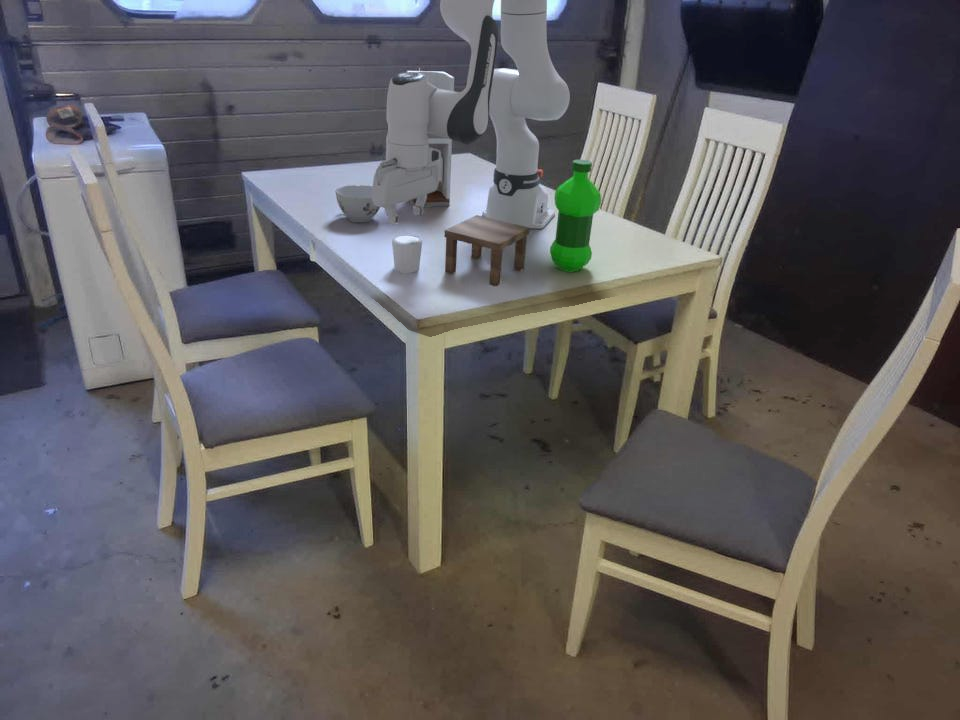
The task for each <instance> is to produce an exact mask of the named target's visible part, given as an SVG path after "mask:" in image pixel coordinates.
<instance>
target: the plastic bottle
mask: <svg viewBox="0 0 960 720" xmlns="http://www.w3.org/2000/svg"><path fill="white" fill-rule="evenodd" d="M592 166H593V163H592V161H590V160H585V159H574V160H572V164H571V170H572V171H573V176H572V177H570V178H568V179H567V180H566V181H564V182H563V183H562V184H560V185H559V186H557V188H556V190H555V192H554V205H555V207H556V209H557V210H558V213H557V221H556V222H557V223H556V230H555V231H556V232H555V239H554V241H553V242H552V244H551V245H550V248H549V253H550V257H551V261H552V262H553V263H554V265H555V266H556V267H557V268H558V269H559V270H561V271H563V272H569V273H572V272H573V271H576V272H578V271H580V270H581V269H582V268H583V267H586V266H587V264H588V263H590V261H591V259H592V257H593V256H592V254H593V252H592V248H591V246H590V241H591V239H590V238H591V234H592V233H591V232H592V225H593V218H594V214H596V213H597V212H598V211H600V210H599V209H600V208H601V207H600V206H601V205H602V204H601V202H602V195H601V192H600V191H599V189H598V188H597V186H596V185H595V184H594V182H592V181H591V180H590V179H589V178H588V177H589V173H590V172H592ZM579 269H580V270H579ZM573 273H574V272H573Z"/></svg>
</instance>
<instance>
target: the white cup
mask: <svg viewBox="0 0 960 720" xmlns="http://www.w3.org/2000/svg"><path fill="white" fill-rule="evenodd" d="M422 246H423V239H422V237H420V236H418V235H414V234H406V233H405V234H399V235H395V236H393V237H392V238H391V247H392V255H393V266H394V267H393V268H394V269H395V271H397V272H399V273H405V274H409V273H415V272H418V271H419V269H420V264H421V263H420V262H421V257H422V255H421V254H422Z"/></svg>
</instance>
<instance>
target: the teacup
mask: <svg viewBox="0 0 960 720" xmlns="http://www.w3.org/2000/svg"><path fill="white" fill-rule="evenodd" d="M372 189H373V185H364V184H360V185H355V184H351V185H350V184H348V185H343V186H341V187H338V188H336V189H335V197H336V201H337V202H336V203H337V204H338V207H339V208H340V210H341V212H342V213H343V215H345V217H346V218H348V220H349V221H350V222H353V223H367V222H371V221H372V218H374V217H375V216H376V215H377V213H378V212H379V210H380V208H381V207H378V206H375V205H374V203H373V202H372Z"/></svg>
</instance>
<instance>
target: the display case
mask: <svg viewBox="0 0 960 720" xmlns="http://www.w3.org/2000/svg"><path fill="white" fill-rule="evenodd" d="M406 72H418V73H421V74H424V75H425V76H426V77H427V80H428V82H429V83H430V84H432V85H433V86H435V87H437V88H440V89H444V90H449V91H455V77H454V76H453V75H450V74H449V73H447V72H445V71H431V70H430V71H429V70H426V71H425V70H406ZM427 136H428V147H431V148H434V149H437V150H440V152H441V157H440V160H438V162H439V184H438V187H437V189H436V191H434V192H431V193H428V194H427V199H426V202H425V204H424V206H423V208H424V207H425V208H426V207H449V206H451V205H450V203H451V202H450V201H451V200H450V199H451V177H452V175H451V174H452V149H453V148H452V147H453V140H452V139H448V138H444V137H439V136H434V135H431V134H427ZM416 200H417V198H414V199H411V200H408V202H410V204H411V206H412V207H413V206H415V204H416Z"/></svg>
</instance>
